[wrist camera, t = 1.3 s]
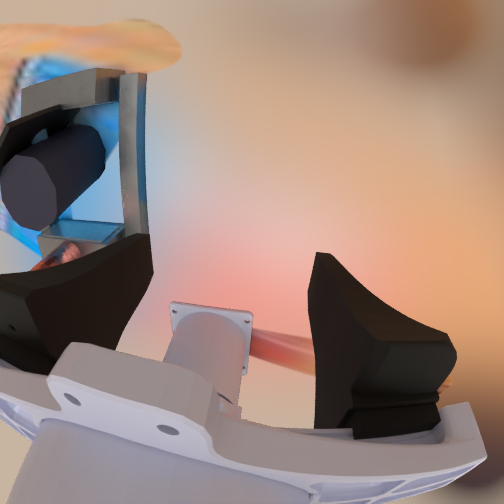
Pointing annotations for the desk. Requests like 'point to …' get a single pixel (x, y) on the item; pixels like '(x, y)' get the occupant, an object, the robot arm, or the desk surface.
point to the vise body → (130, 126)
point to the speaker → (47, 165)
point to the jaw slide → (75, 240)
